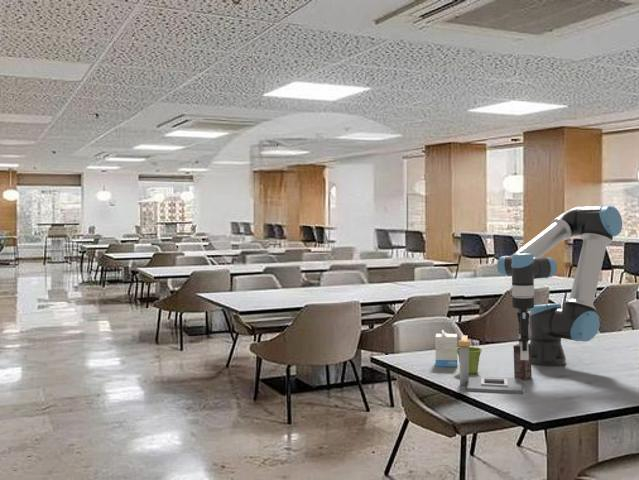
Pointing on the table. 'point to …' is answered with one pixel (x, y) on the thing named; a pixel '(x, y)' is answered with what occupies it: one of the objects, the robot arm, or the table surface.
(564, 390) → the table surface
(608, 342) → the table surface
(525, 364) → the box
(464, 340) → the clip
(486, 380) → the grey stand
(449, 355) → the milk carton
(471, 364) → the plant pot
